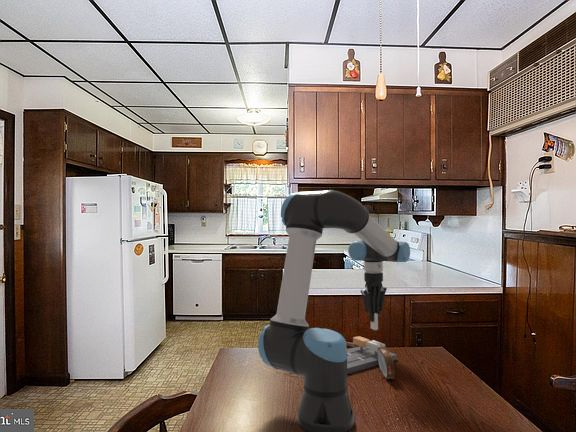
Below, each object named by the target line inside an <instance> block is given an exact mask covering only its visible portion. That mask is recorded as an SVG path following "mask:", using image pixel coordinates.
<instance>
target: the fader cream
mask: <svg viewBox="0 0 576 432" xmlns="http://www.w3.org/2000/svg"><path fill="white" fill-rule="evenodd" d="M378 347H386V344H385V343H382V342H380V341H377V340H374V339H372V340H370V341H368V342H367V348H369V349H371V350H374V351H375V355H377V352H378Z"/></svg>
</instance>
